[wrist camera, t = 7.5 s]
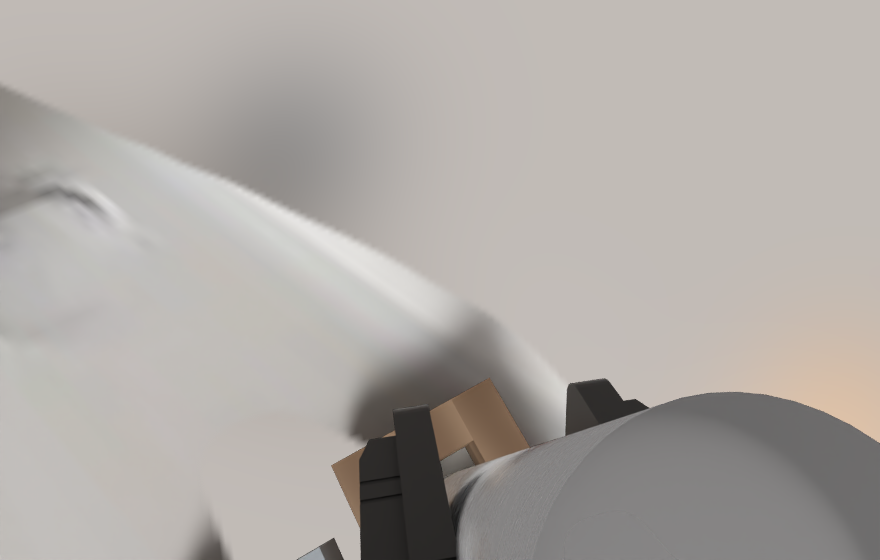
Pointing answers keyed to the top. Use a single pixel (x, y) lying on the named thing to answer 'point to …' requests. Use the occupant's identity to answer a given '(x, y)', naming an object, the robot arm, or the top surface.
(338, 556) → the socket block
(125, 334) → the top surface
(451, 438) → the wooden square frame
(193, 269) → the top surface
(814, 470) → the steel axle
